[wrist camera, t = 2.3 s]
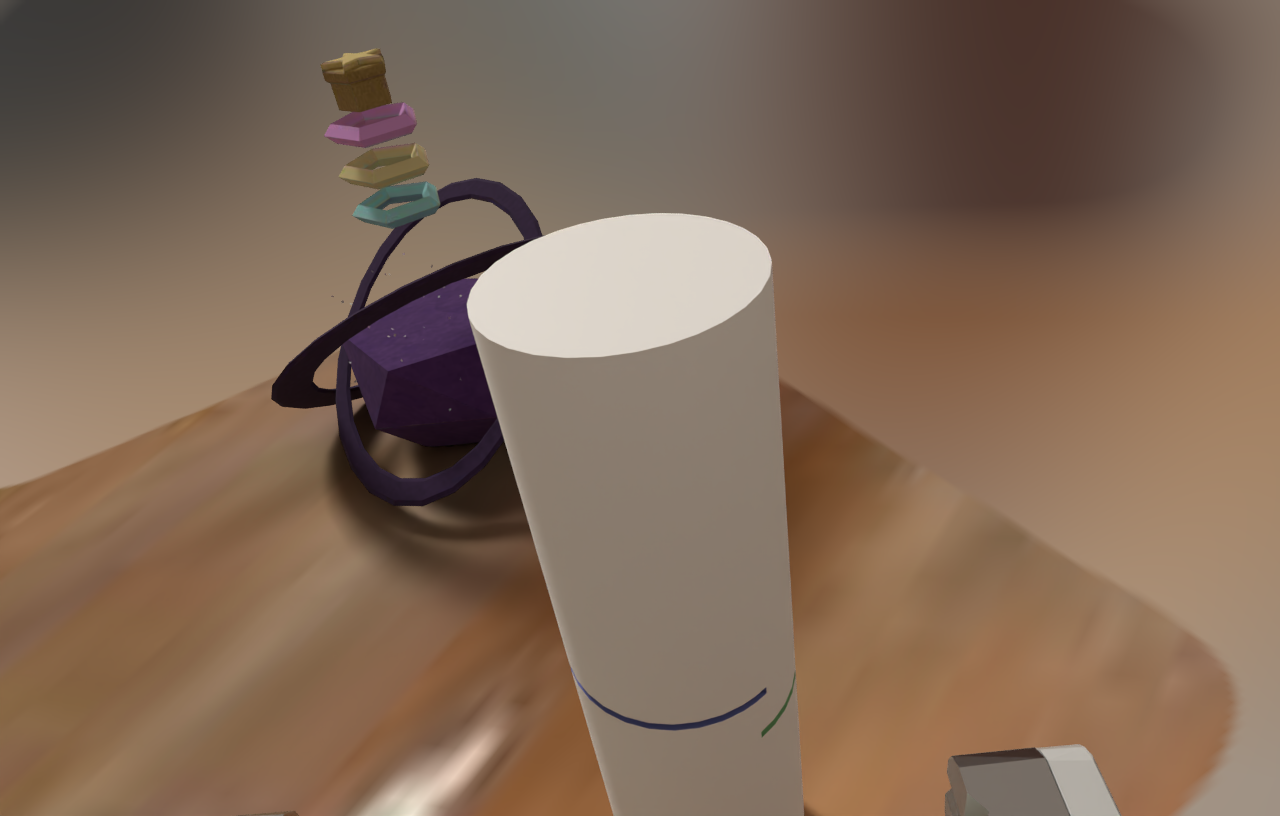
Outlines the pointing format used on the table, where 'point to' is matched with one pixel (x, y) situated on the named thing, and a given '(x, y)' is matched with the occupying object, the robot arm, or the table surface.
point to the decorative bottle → (404, 306)
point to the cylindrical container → (656, 499)
